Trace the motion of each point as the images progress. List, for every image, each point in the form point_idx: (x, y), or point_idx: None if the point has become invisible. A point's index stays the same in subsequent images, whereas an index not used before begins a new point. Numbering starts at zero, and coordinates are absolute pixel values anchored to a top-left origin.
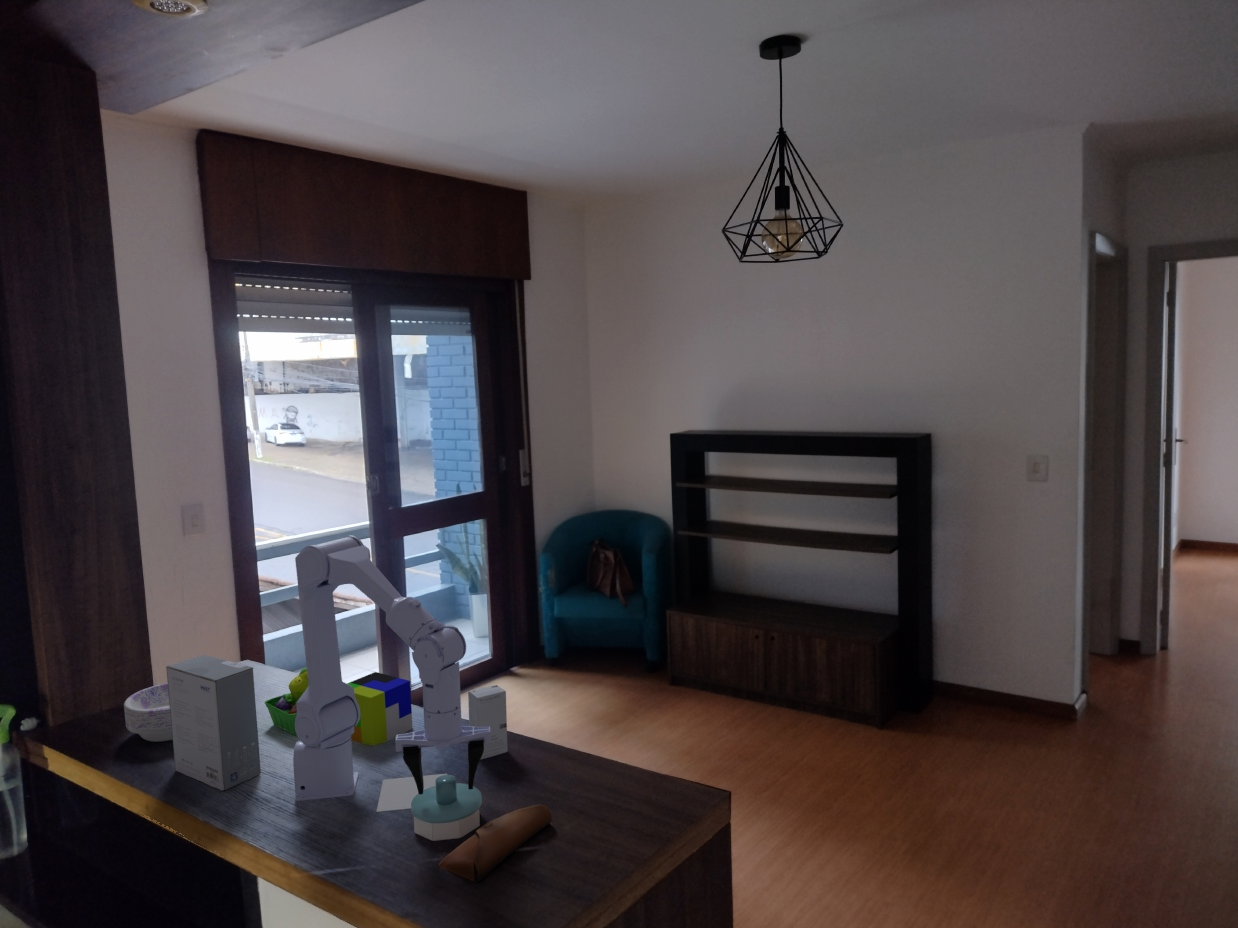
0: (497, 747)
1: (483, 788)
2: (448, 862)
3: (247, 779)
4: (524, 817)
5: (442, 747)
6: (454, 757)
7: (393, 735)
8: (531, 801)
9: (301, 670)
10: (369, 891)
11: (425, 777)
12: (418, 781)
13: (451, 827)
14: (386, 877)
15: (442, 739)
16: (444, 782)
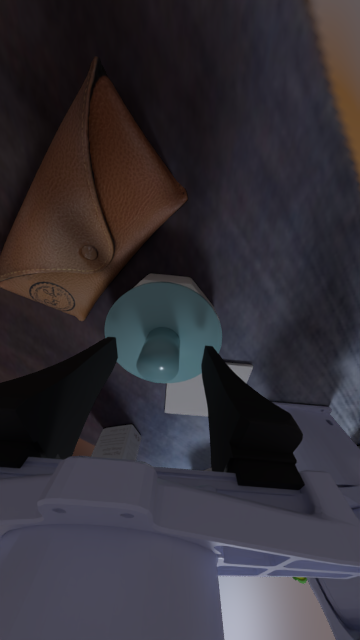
0: (108, 437)
1: (124, 380)
2: (169, 182)
3: (357, 446)
4: (13, 247)
5: (107, 463)
6: (157, 433)
7: (211, 470)
8: (59, 340)
9: (306, 579)
10: (322, 136)
11: (188, 411)
12: (219, 361)
13: (159, 278)
14: (279, 185)
15: (96, 544)
16: (160, 357)
